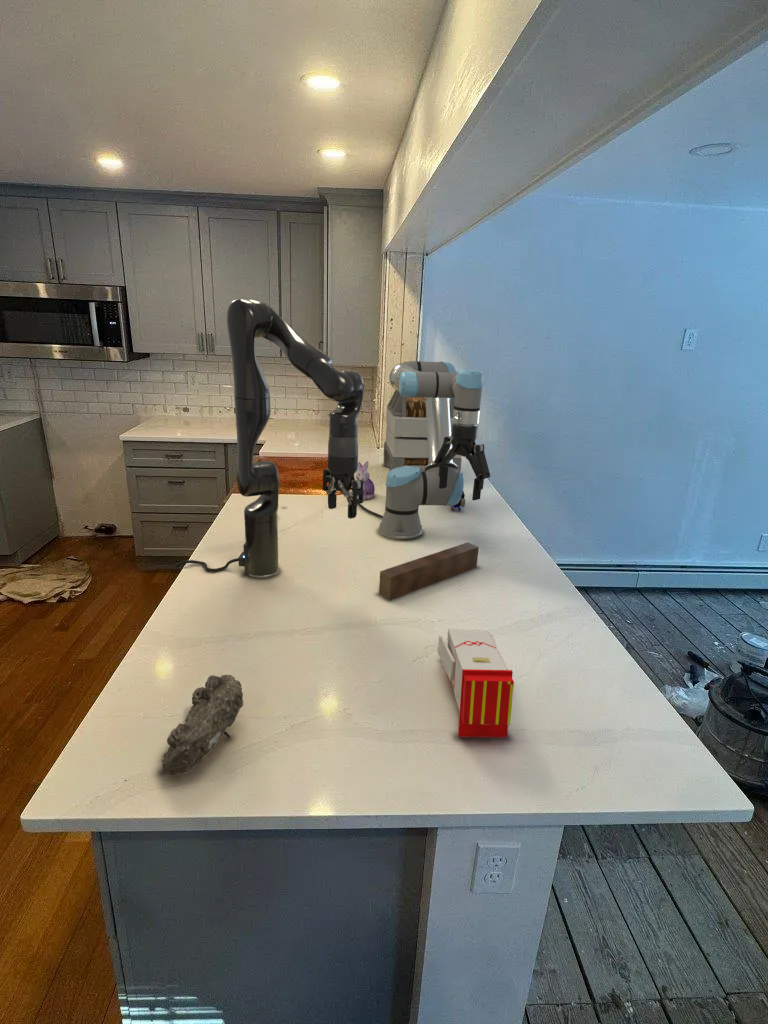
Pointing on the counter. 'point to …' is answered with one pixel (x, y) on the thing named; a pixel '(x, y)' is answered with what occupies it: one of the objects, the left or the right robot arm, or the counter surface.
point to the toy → (478, 682)
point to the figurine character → (461, 502)
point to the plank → (427, 570)
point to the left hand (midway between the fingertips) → (341, 513)
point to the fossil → (203, 723)
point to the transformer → (409, 432)
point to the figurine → (365, 481)
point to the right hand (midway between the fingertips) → (458, 493)
